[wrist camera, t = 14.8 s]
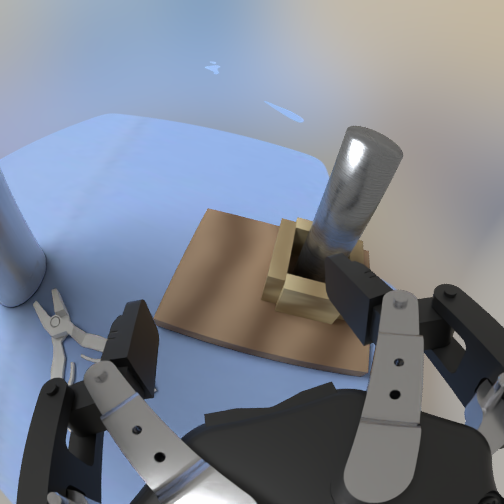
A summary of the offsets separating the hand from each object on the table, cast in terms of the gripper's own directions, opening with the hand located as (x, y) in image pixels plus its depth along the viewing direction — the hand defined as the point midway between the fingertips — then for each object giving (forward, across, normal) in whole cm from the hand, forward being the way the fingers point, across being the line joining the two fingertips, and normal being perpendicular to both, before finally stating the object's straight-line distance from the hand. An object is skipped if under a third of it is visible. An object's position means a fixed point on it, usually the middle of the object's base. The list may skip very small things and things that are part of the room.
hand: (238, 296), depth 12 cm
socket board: (+14, -4, +9) cm, 17 cm away
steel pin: (+13, -8, +9) cm, 17 cm away
